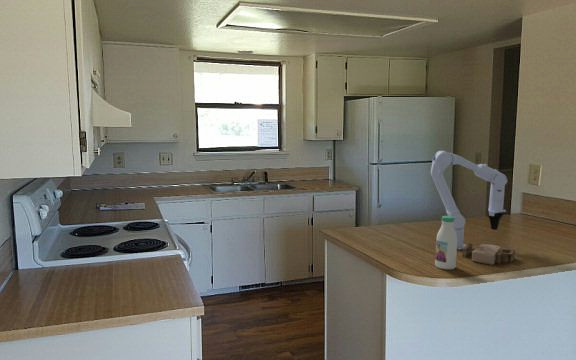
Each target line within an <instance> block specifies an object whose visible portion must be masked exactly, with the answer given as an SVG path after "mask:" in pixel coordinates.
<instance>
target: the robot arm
mask: <svg viewBox="0 0 576 360" xmlns="http://www.w3.org/2000/svg"><path fill="white" fill-rule="evenodd" d="M431 162H432V163H431V168H430V176H431V178H432V180H433V182H434V185H435V187H436V190H437V192H438V194H439V197H440V198H441V201H442V203H443V206H444V208H445V212H446V216H452V217H454V223H453V226H454V230H455V232H456V235H457V250H463V248H464V247H465V246H467V244H465V243H464V238H465V237H464V236H465V235H464V234H465V226H466V222H467V221H466V218H465V216H463V215H462V214H461V212H460V210H459V209H458V207H457V205H456V201H455V199H454V198H453V195H452V192H451V191H450V188H449V186H448V184H447V181H446V179H445V177H444V173H445V171H446V169H447V168H448V167H449V166H450V165H453V166H454V165H459V166H461V167H465V168H466V169H469V170H471V171H473V173H474V175H475V177H478V178H479V179H480V178H481V179H482V180H484V181H486V182H488V183H489V182H490V189H489V201H488V209H487V210H488V213H487V217H488V218H489V219H488V220H489V221H490V229H491V230H493V231H497V230H498V228H499V225H500V221H501V219H502V218H503V216H504V213H506V212H507V210H506V209H504V204H505V203H504V200H505V188H506V185H507V183H508V177H507V176H506V175H505V174H504V173H502V172H500V171H498V169H496V168H491V167H489V165H488V164H486V163H484V164H483V163H478V164H476V163H474V162H472V161H470V160H468V159H466V158H464V157H463V156H460V155H458V154H456V153H452V152H449V151H445V150H438V151H436V152H435V154H434V156H433V157H432V160H431Z"/></svg>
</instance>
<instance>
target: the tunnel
mask: <svg viewBox="0 0 576 360" xmlns="http://www.w3.org/2000/svg"><path fill="white" fill-rule="evenodd" d="M473 244H474V243H468V244H466V246H465V247H464V248H462V255H461V256H462V257H464V258H466V257H467V256H469V255H470V254H472V251H473V246H474V245H473ZM515 257H516V250H515V249H510V248H504V247H503V248H502V250H501V251H500V252H499V253H498V254H497V256H496V262H495V263H496V264H500V263H501V262H502V263H508V264H511V263H512V262H514V260H515Z"/></svg>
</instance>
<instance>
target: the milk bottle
mask: <svg viewBox="0 0 576 360" xmlns="http://www.w3.org/2000/svg"><path fill="white" fill-rule="evenodd" d="M453 223H454V217H452V216H447V215H443V216H441V226H440V228H439V230H438V232H437V234H436V241H435V253H434V254H435V257H434V264H435V267H436V268H438V269H442V270H454V269H455V268H456V265H457V264H456V263H457V253H458V252H457V250H458V249H457V235H456V232H455V230H454V226H453Z"/></svg>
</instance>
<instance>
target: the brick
mask: <svg viewBox="0 0 576 360" xmlns="http://www.w3.org/2000/svg"><path fill="white" fill-rule="evenodd" d="M499 252H501V246H498V245H495V244H488V243H487V244H485V243H481V244H480V245H478V246H477V248H475V249H474V250H472V252H471V261H473V262H475V263H481V264H484V265H491V266H492V265H494V264H495V263H496V256H497V254H498V253H499Z"/></svg>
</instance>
